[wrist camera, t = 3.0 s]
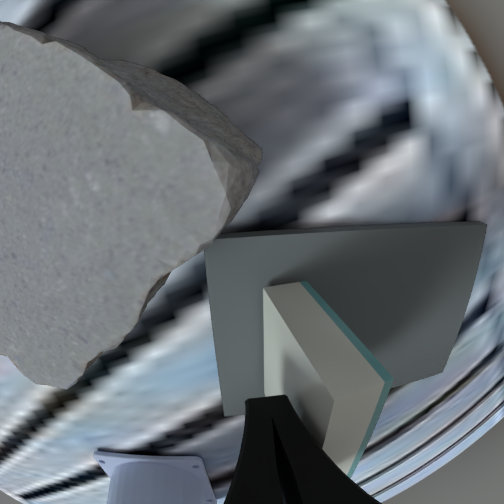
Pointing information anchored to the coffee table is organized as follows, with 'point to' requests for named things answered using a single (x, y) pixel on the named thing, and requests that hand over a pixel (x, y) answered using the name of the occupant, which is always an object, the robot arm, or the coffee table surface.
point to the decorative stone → (100, 196)
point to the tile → (322, 371)
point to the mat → (345, 293)
